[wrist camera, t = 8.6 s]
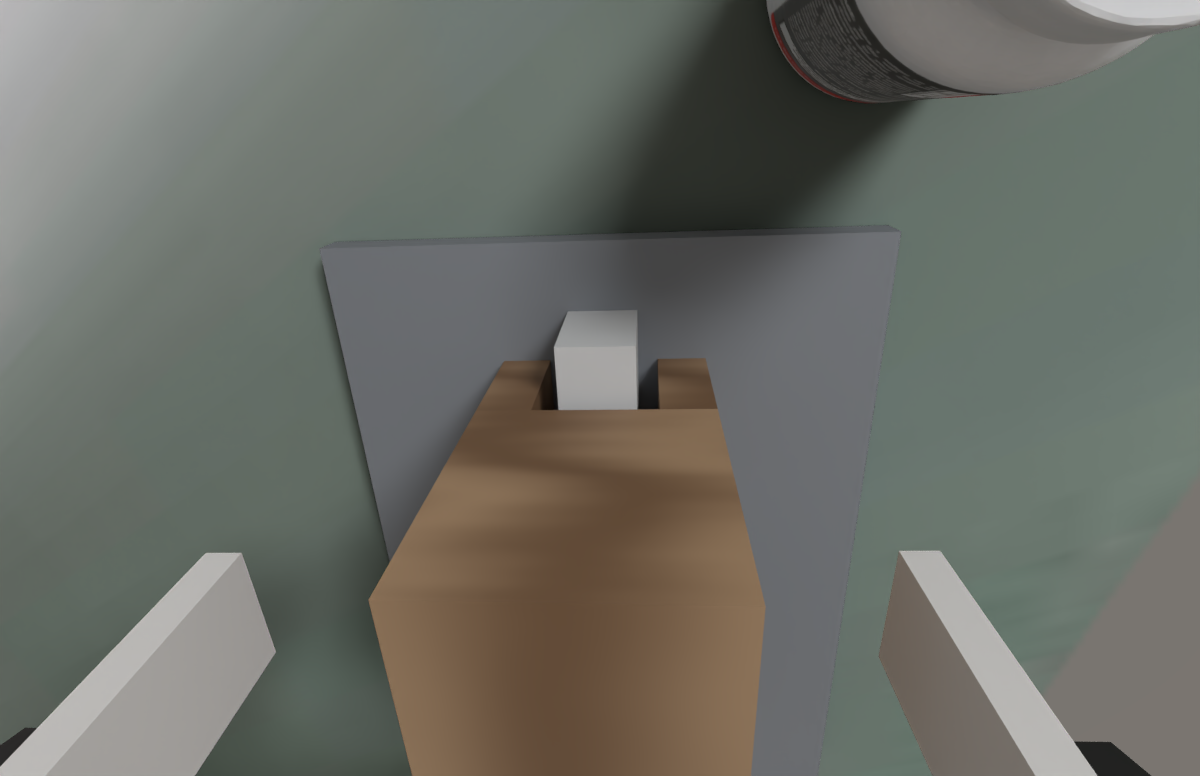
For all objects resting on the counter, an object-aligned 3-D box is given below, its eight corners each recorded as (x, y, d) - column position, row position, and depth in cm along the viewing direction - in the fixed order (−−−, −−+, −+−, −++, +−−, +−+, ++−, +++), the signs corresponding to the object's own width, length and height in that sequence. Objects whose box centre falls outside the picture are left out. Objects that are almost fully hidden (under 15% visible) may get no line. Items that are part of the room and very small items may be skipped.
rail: (442, 742, 27) (324, 1105, 17) (335, 241, 18) (-33, 396, 8) (811, 755, 26) (914, 1155, 16) (887, 225, 17) (1224, 382, 7)
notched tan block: (521, 515, 21) (425, 827, 12) (504, 360, 19) (367, 600, 9) (700, 516, 20) (744, 842, 11) (705, 358, 18) (765, 606, 9)
